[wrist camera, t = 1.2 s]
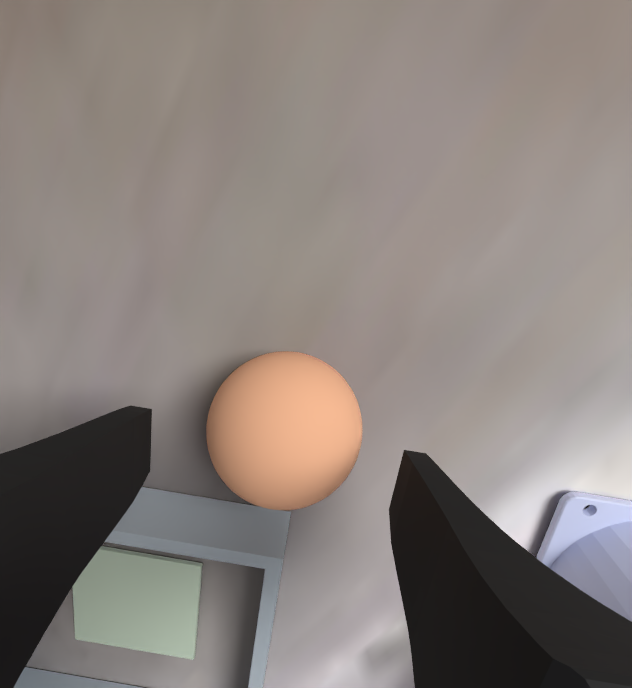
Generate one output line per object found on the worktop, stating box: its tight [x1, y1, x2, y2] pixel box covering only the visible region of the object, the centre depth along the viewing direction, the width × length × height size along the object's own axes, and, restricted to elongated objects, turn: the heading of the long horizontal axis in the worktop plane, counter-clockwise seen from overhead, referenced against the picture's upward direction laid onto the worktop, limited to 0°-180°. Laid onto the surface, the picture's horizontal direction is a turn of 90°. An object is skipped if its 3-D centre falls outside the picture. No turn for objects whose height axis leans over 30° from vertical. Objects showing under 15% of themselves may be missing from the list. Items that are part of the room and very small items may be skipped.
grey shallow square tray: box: [14, 487, 291, 688], centre depth 18 cm, size 13×13×2 cm
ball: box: [206, 352, 362, 510], centre depth 13 cm, size 5×5×5 cm
